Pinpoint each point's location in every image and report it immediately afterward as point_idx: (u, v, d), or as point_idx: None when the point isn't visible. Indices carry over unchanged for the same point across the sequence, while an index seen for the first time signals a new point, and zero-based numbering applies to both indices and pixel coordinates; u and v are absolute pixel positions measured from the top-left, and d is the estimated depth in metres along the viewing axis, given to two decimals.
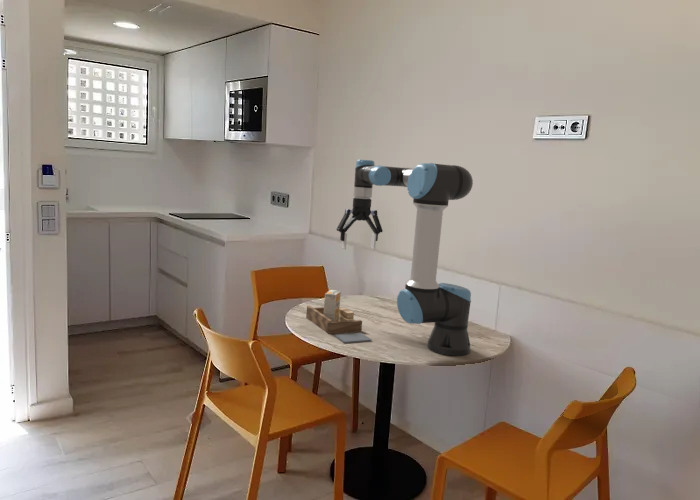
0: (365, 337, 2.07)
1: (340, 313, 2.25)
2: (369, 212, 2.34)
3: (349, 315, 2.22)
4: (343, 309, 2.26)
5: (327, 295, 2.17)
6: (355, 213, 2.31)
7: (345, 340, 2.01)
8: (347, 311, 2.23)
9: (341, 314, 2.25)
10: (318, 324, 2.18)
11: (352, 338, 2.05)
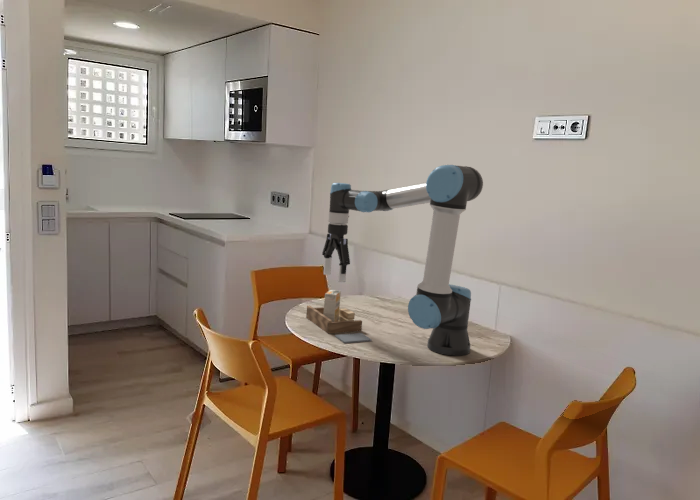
0: (365, 337, 2.07)
1: (341, 313, 2.25)
2: (338, 240, 2.14)
3: (350, 316, 2.21)
4: (344, 309, 2.25)
5: (327, 295, 2.17)
6: None
7: (345, 340, 2.01)
8: (348, 311, 2.23)
9: (342, 314, 2.24)
10: (318, 324, 2.18)
11: (352, 338, 2.05)
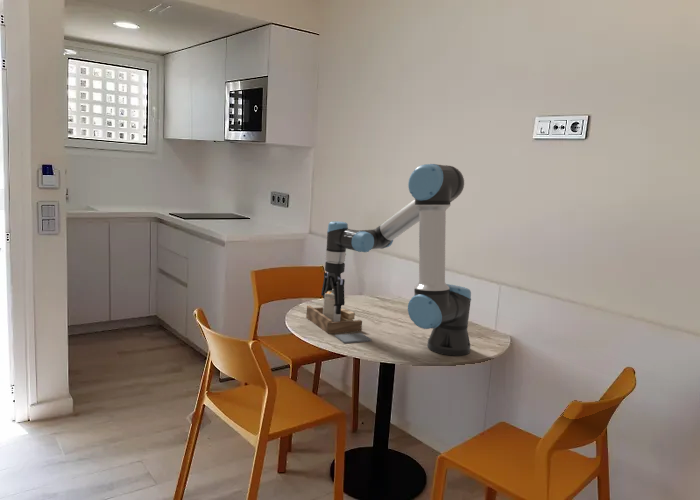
0: (365, 337, 2.07)
1: None
2: (335, 278, 2.16)
3: (350, 316, 2.21)
4: (343, 310, 2.25)
5: (327, 295, 2.16)
6: (328, 276, 2.21)
7: (345, 340, 2.01)
8: (348, 312, 2.22)
9: (341, 315, 2.24)
10: (318, 324, 2.18)
11: (352, 338, 2.05)
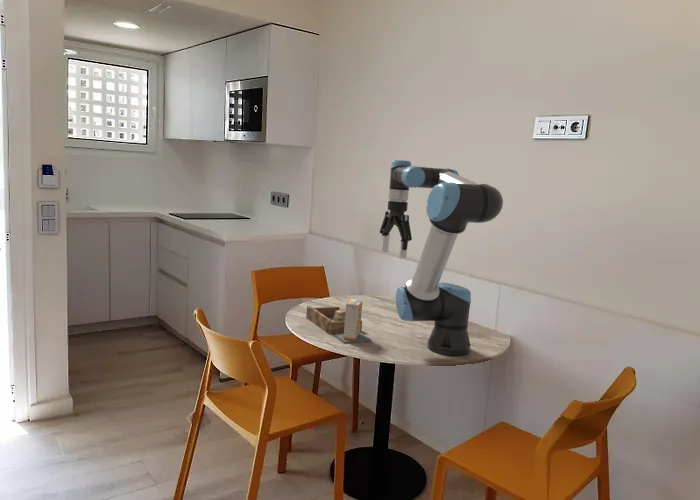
0: (365, 337, 2.07)
1: (342, 316, 2.22)
2: (398, 216, 2.16)
3: None
4: (341, 311, 2.23)
5: (349, 305, 2.01)
6: (390, 216, 2.21)
7: (345, 340, 2.01)
8: None
9: (344, 316, 2.22)
10: (318, 324, 2.18)
11: None
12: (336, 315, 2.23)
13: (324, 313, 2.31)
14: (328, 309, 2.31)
